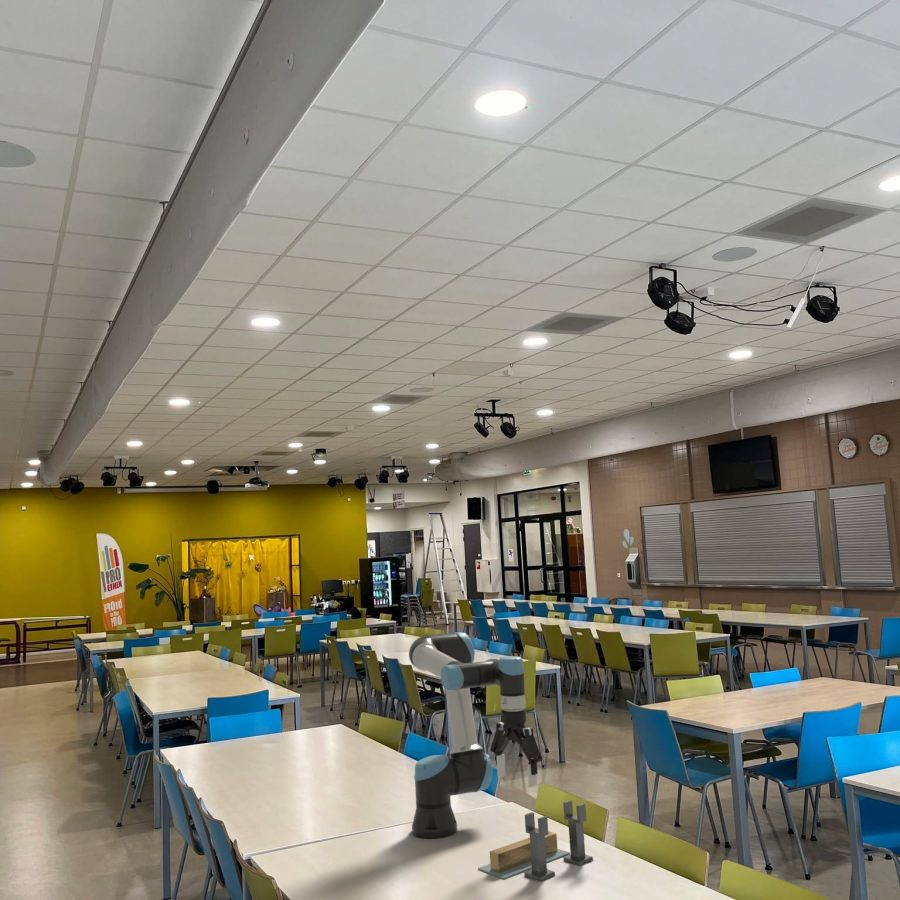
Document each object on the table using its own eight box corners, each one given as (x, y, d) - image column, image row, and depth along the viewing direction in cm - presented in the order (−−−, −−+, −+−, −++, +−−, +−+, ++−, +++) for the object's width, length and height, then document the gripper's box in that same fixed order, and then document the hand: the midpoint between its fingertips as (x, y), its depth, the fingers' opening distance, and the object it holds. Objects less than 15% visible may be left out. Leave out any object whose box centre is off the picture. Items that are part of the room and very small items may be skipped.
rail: (490, 870, 233) (489, 851, 234) (549, 848, 249) (548, 831, 249) (499, 873, 231) (497, 854, 232) (557, 851, 246) (556, 833, 247)
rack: (524, 876, 229) (520, 816, 231) (577, 855, 242) (573, 798, 245) (539, 881, 224) (535, 820, 226) (592, 860, 238) (588, 802, 240)
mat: (478, 869, 235) (478, 868, 235) (543, 845, 252) (543, 844, 253) (504, 879, 227) (504, 877, 227) (570, 853, 244) (570, 852, 244)
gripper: (477, 705, 256) (480, 776, 254) (533, 716, 237) (537, 792, 234) (495, 702, 261) (498, 771, 258) (551, 712, 242) (555, 786, 239)
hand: (516, 781), depth 246 cm, fingers open, 13 cm apart
